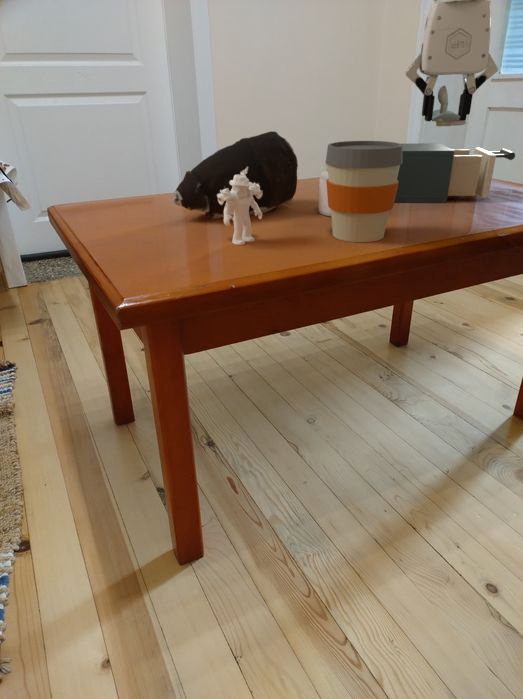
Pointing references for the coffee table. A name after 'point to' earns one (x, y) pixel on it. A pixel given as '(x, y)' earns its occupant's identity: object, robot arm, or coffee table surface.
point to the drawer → (474, 171)
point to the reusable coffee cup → (362, 187)
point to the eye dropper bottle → (323, 193)
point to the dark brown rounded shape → (218, 169)
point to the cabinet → (424, 173)
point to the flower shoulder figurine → (240, 206)
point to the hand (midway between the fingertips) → (444, 119)
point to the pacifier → (445, 111)
